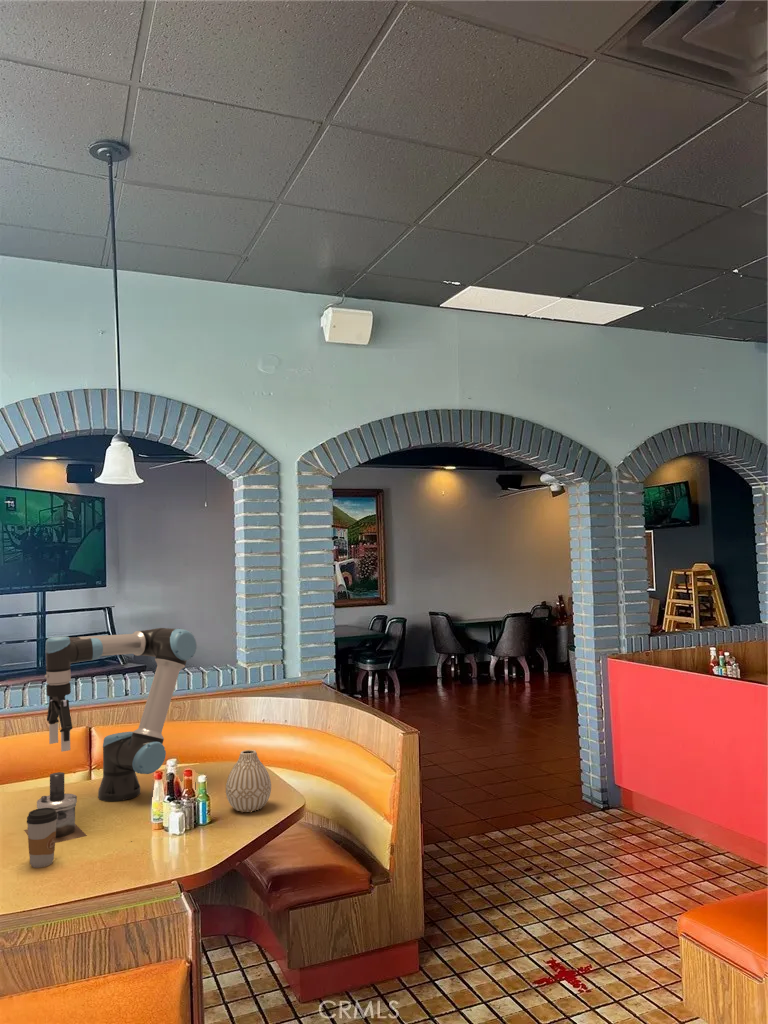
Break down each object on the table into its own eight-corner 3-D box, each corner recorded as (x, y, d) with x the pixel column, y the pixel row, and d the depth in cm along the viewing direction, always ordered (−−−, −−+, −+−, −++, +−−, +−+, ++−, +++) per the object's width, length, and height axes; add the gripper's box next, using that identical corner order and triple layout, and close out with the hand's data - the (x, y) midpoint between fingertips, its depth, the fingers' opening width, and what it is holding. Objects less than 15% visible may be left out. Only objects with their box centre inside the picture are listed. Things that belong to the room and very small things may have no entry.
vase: (216, 813, 269) (216, 755, 270) (241, 799, 284) (241, 744, 285) (256, 818, 263) (255, 759, 264) (279, 804, 278) (279, 748, 279)
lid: (71, 796, 260) (71, 767, 260) (81, 805, 250) (81, 774, 251) (33, 803, 253) (33, 773, 253) (41, 812, 243) (41, 781, 244)
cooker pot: (32, 829, 254) (32, 801, 254) (68, 822, 261) (69, 794, 261) (43, 843, 241) (43, 814, 242) (81, 835, 248) (82, 806, 248)
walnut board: (71, 822, 263) (71, 820, 263) (87, 838, 247) (87, 835, 247) (23, 832, 254) (23, 830, 254) (37, 849, 238) (37, 846, 239)
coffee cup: (45, 870, 222) (45, 817, 223) (19, 868, 224) (20, 815, 225) (63, 859, 230) (63, 807, 231) (38, 857, 232) (38, 806, 233)
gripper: (36, 680, 267) (37, 742, 267) (57, 689, 248) (59, 756, 247) (59, 677, 272) (60, 738, 271) (81, 686, 253) (83, 751, 252)
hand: (59, 746), depth 259 cm, fingers open, 13 cm apart
